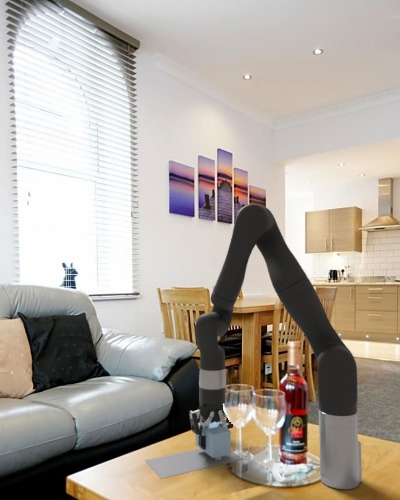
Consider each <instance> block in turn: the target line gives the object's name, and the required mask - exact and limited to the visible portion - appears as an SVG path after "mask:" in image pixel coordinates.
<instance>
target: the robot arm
mask: <svg viewBox="0 0 400 500" xmlns="http://www.w3.org/2000/svg"><path fill="white" fill-rule="evenodd" d="M255 246H256V247H257V249H258V251H259V252H260V253H261V255H262V258H263V260H264V262H265V264H266V269H267V272H268V275H269V278H270V282H271V284H272V288H273V289H274V292H275V294H276V295H277V297H278V299H279V301H280V302H281V304H282V306H283V308H284V309H285V311H286V313H288V315H289V316H290V318H291V319H292V321H294V322H295V324H296V325H297V326H298V328H299V329H300V330H301V332H302V333H303V334H304V336H305V338H306V339H307V341H308V343H309V345H310V348H311V350H312V351H313V355H314V357H315V359H316V362H317V392H318V393H317V400H318V403H317V405H318V435H319V436H318V438H319V439H318V440H319V473H320V476H319V477H320V481H321V482H322V484H324V485H325V486H327V487H330V488H333V489H338V490H352V489H355V488H358V486H359V485H360V483H362V482H363V470H362V469H363V467H362V466H363V465H362V463H363V462H362V443H361V441H359V436H358V435H359V431H358V401H359V399H358V367H357V362H356V359H355V357H354V355H353V353H352V352H351V350H350V349H349V348H348V347H347V345H346V344H345V342H343V340H342V338H341V337H340V336H339V334H338V333H337V331H336V330H335V329H334V326H333V325H332V324H331V322H330V320H329V318H328V315H327V313H326V311H325V309H324V307H323V303H322V301H321V299H320V298H319V295H318V293H317V291H316V289H315V288H314V286H313V284H312V282H311V280H310V279H309V277H308V275H307V273H306V271H304V269H303V267H302V266H301V264H300V263H299V260H298V259H297V258H296V257H295V255H294V254H293V252H292V251H291V249H290V247H289V246H288V244H287V242H286V240H285V239H284V236H283V234H282V231H281V230H280V228H279V224H278V223H277V221H276V218H275V216H274V214H273V213H272V212H271V210H270V209H269V208H267V207H266V206H263V205H260V204H256V203H250V204H249V203H248V204H246V205H244V206H243V207H241V208H240V210H238V212H237V214H236V217H235V221H234V226H233V229H232V233H231V238H230V242H229V246H228V249H227V253H226V255H225V260H224V262H223V264H222V267H221V269H220V270H221V271H220V272H219V275H218V277H217V280H216V282H215V285H214V287H213V290H212V293H211V295H210V302H211V304H212V310H211V311H210V312H209V313H203V314H201V315H200V316H198V317H197V318H196V319H197V320H196V322H195V327H194V331H195V337H196V343H197V347H198V350H199V355H200V356H199V367H200V368H199V373H198V374H199V375H198V376H199V377H198V379H199V381H198V384H199V385H198V386H199V387H198V388H199V389H198V391H199V392H198V393H199V395H198V398H199V399H198V401H199V406H198V408H197V410H189V412H188V416H189V421H190V427H191V431H192V433H194V434H195V436H196V435H198V440H199V441H198V444H199V446H200V447H201V448H202V449H203V450H204V449H206V436H205V434H206V430H207V428H209V426H210V423H213V422H218V424H219V425H221V426H222V427H225V428H226V429H228V430H230V429H233V428H234V425H233V424H231V422H229V420H228V418H227V417H224V415H225V413H224V411H223V405H222V404H223V403H225V393H226V394H227V374H226V353H225V349H224V348H223V347H221V346H220V345H219V338H221V337H222V336H224V335H225V334H226V333H227V332H228V330H229V329H230V327H231V324H232V319H233V313H234V306H235V304H236V303H237V300H238V297H239V294H240V292H241V290H242V287H243V285H244V281H245V277H246V272H247V267H248V262H249V259H250V257H251V254H252V252H253V250H254V249H255ZM200 415H201V416H202V417H201V420H200ZM225 418H226V419H225ZM198 419H199V420H198ZM205 421H206V423H205ZM198 423H200V426H199V425H198Z"/></svg>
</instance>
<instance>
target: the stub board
mask: <svg viewBox="0 0 400 500" xmlns="http://www.w3.org/2000/svg"><path fill="white" fill-rule="evenodd" d="M243 460H244V458H242V457H241V456H240V455H238V454H237V453H236V452H234V451H233V450H231V454H228V455H224V456H219V457H215V458H212V457H211V456H209V455H208V454H207V453H206V452H204V451H203V450H202V449H200V448H197V449H192V450H187V451H182V452H178V453H173V454H169V455H163V456H159V457H154V458H149V459H145V460H144V462H145V463H146V464H147V465H148V466H149V467H150V468H151V469H152V470H153V471H154V473H155V474H156V475H157V476H158V477H159V478H160V479H161V480H162V479H166V478H167V479H168V478H170V477H175V476H179V475H184V474H189V473H191V472H196V471H199V470H200V471H201V470H203V469H204V470H205V469H208V468H212V467H218V466H221V465H226V464H229V463H234V462H239V461H243Z"/></svg>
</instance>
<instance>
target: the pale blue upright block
mask: <svg viewBox="0 0 400 500" xmlns="http://www.w3.org/2000/svg"><path fill="white" fill-rule="evenodd" d="M205 423H206V422H205ZM198 425H199V426H200V422H198ZM231 435H232V433H231V430H230V429H226V428H225V427H222V426H221V425H219V424H218V423H217V422H213V423H210V426H209V428H207V430H206V434H205V436H206V449H204V450H203V449H202V448H201V447H200V446H199V444H198V441H199V440H198V435H196V434H195V446H197V447H198V449H202V450H203V451H204V452H206V453H207V454H208V455H209V456H211V457H212V458H215V457H219V456H224V455H228V454H231V451H232V450H231V449H232V445H231V444H232V440H231V439H232V438H231Z"/></svg>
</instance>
